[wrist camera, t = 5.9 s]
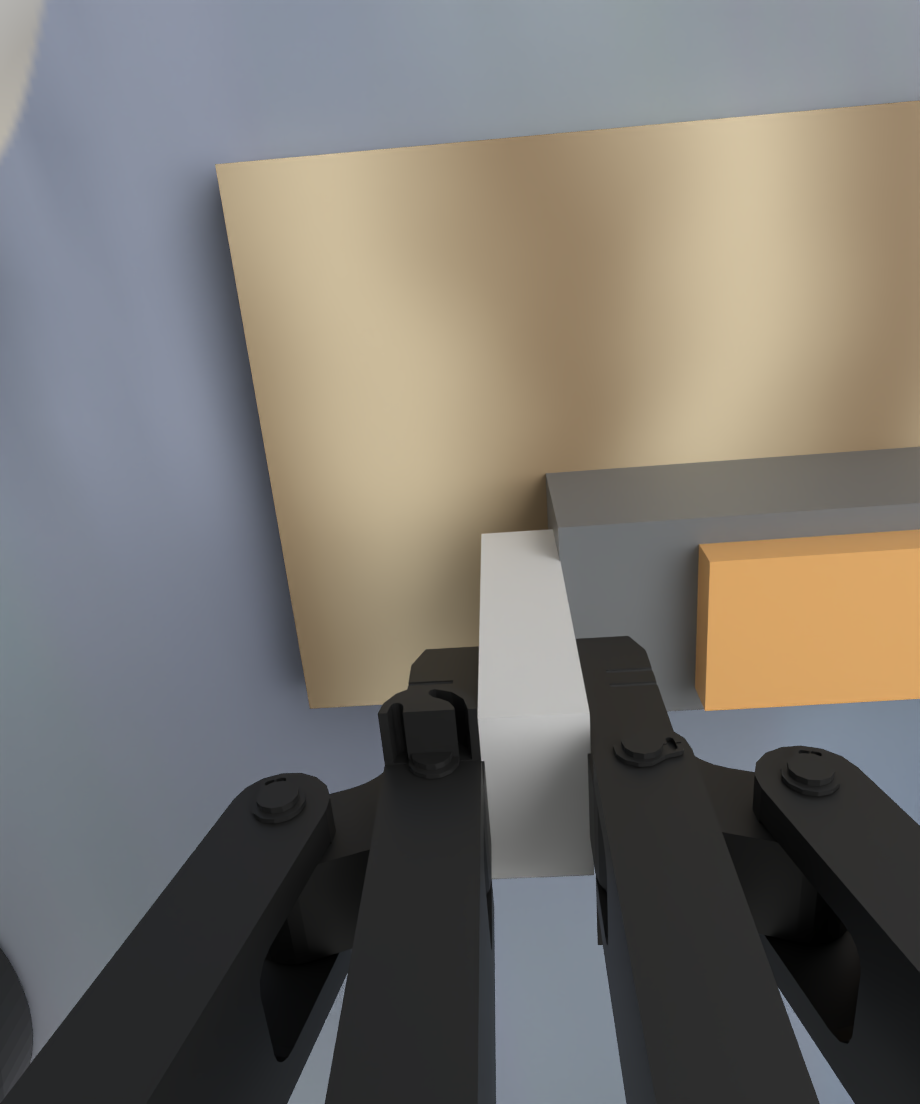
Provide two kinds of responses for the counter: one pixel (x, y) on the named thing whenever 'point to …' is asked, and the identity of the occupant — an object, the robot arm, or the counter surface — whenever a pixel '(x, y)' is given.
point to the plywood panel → (554, 340)
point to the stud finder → (751, 574)
